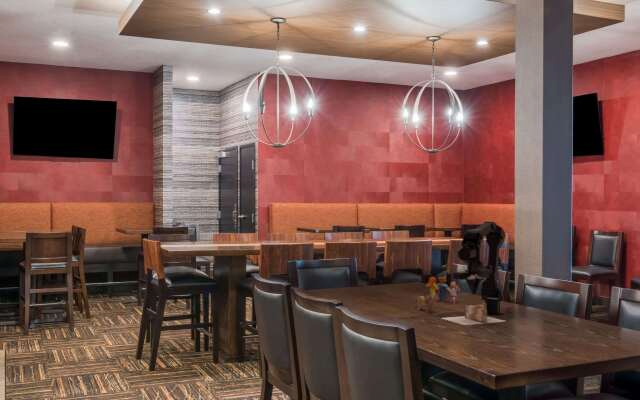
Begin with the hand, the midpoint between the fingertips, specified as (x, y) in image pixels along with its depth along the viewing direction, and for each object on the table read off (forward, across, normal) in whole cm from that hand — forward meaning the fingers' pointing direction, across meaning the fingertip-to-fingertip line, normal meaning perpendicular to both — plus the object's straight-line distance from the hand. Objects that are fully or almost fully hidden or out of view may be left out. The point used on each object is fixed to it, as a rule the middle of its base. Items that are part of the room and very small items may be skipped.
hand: (473, 294), depth 304 cm
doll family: (+13, +17, +50) cm, 55 cm away
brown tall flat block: (+11, 0, -1) cm, 11 cm away
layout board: (+12, 0, 0) cm, 12 cm away
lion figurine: (+12, -5, +30) cm, 32 cm away
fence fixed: (+12, +5, +4) cm, 14 cm away
